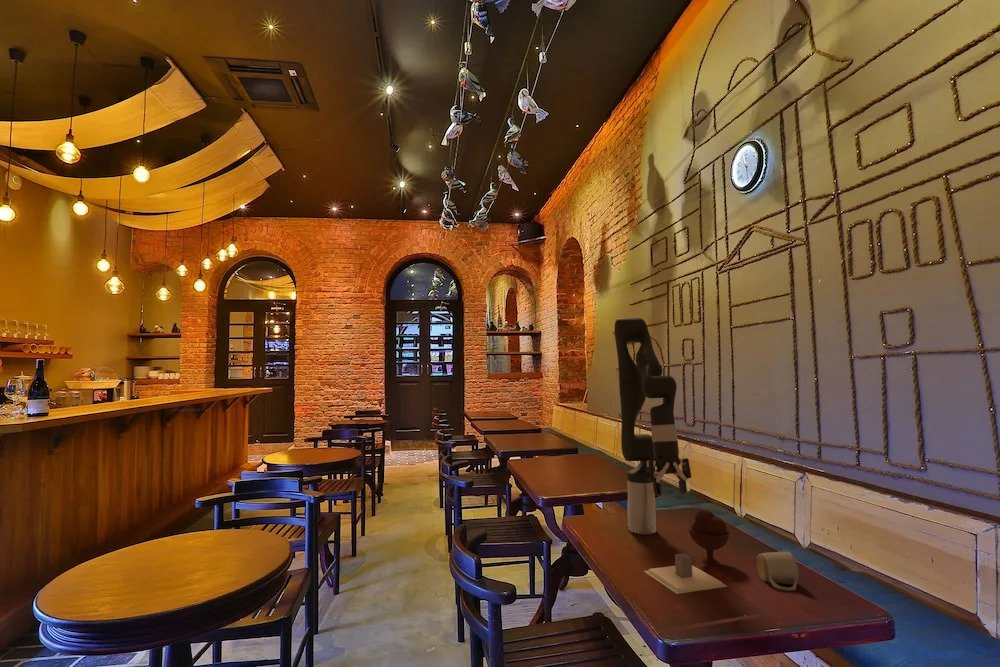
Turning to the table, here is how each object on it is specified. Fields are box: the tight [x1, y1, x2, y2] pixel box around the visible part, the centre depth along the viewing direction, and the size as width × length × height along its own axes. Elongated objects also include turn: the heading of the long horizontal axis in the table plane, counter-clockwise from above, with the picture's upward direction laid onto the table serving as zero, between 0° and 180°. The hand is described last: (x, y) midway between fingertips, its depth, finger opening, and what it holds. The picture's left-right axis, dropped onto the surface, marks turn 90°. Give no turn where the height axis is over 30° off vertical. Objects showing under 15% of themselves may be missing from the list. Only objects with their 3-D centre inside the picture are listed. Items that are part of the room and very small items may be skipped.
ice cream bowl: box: [688, 508, 730, 566], centre depth 146 cm, size 11×11×15 cm
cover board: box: [648, 553, 723, 591], centre depth 134 cm, size 13×13×6 cm
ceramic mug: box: [756, 551, 800, 592], centre depth 131 cm, size 11×8×8 cm
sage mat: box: [643, 569, 728, 595], centre depth 134 cm, size 15×15×1 cm
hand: (670, 494), depth 153 cm, fingers open, 8 cm apart
